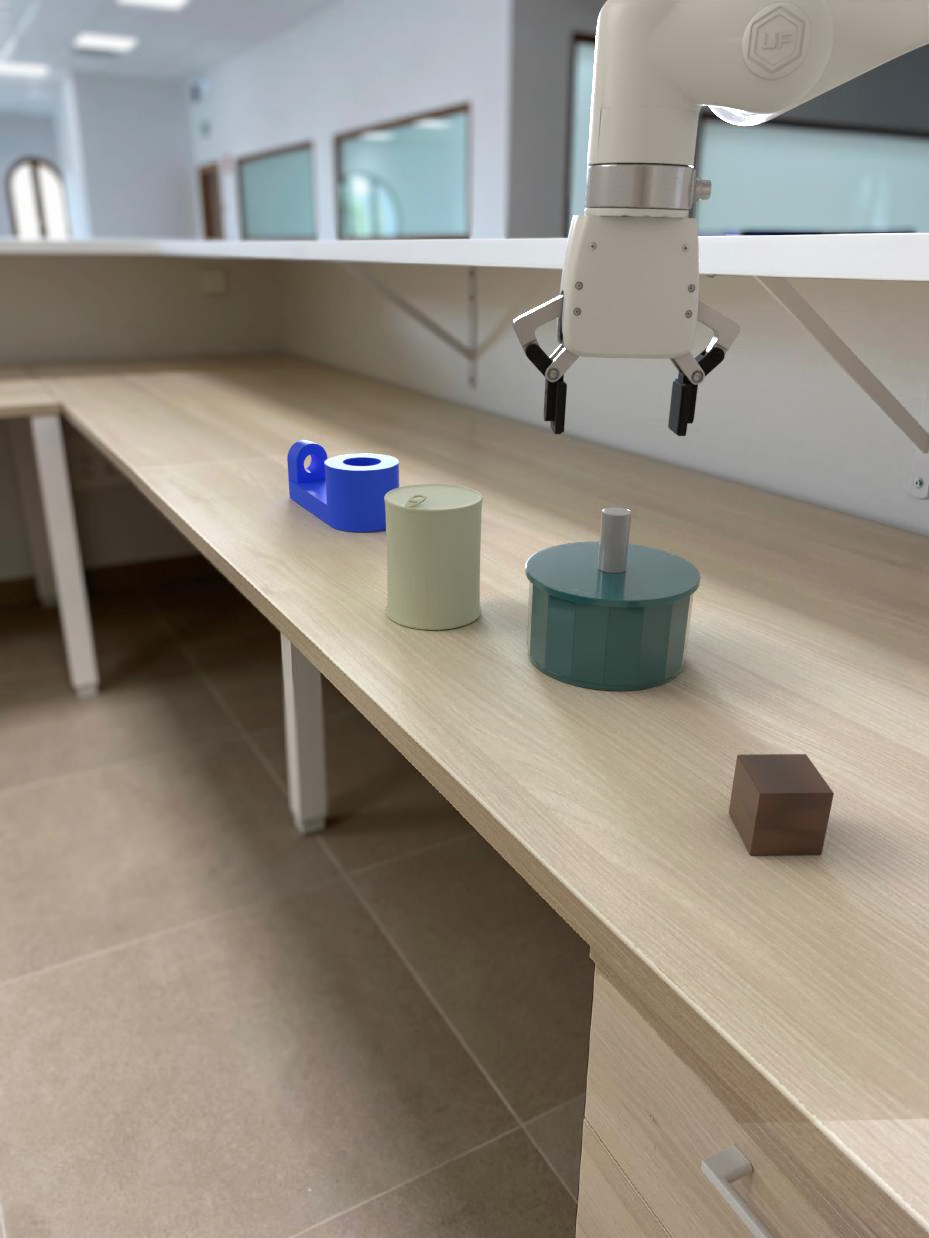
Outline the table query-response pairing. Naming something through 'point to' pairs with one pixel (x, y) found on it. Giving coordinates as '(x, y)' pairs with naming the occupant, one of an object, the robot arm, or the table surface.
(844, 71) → the robot arm
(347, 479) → the bracket
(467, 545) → the can
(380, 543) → the table surface
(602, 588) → the lid
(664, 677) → the bowl
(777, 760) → the block
